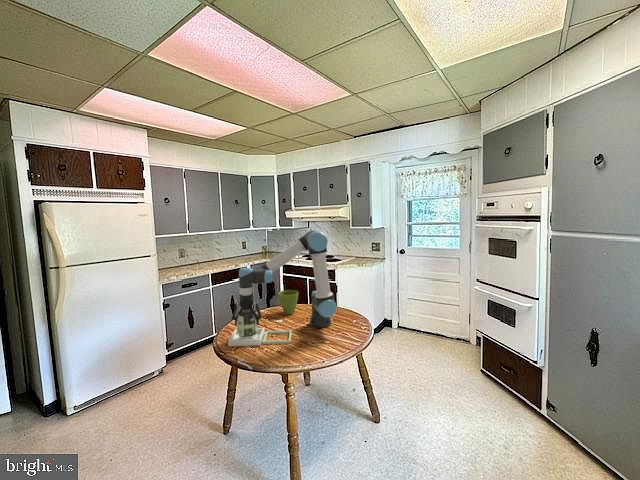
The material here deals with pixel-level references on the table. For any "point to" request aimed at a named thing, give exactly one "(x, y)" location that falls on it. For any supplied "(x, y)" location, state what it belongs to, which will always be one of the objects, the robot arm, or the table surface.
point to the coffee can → (246, 324)
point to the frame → (277, 340)
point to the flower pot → (288, 300)
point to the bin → (246, 339)
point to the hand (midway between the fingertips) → (247, 330)
